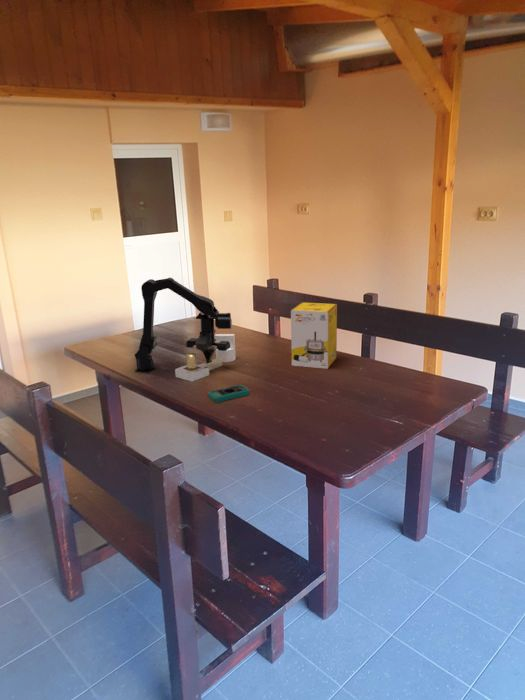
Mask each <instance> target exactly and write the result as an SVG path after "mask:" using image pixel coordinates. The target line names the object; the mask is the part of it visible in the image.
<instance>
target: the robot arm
mask: <svg viewBox="0 0 525 700" xmlns="http://www.w3.org/2000/svg"><path fill="white" fill-rule="evenodd" d="M166 289H168V290H170V291H172V292H173V293H175V294H176V295H178V296H180V297H181V298H183V299H184V300H187V302H189V303H191V305H193V306H194V307H195V309H196V310H197V311H199V313H198V314H197V315H196V317H195V320H200V331H199V337H198V338H196V337H195V338H194V337H191V338H189V339H188V340H186V342H185V346H186V348H193V347H194V346H195V349H197V350H198V351H201V352H202V353H203V355H204V359H205V360H206V362H208V361H210V360H212V357H213V355H214V352H216V349H218V350H221V351H226V350H227V349H229V348H230V343H229V341H220V342H219V343H215V341H216V339H215V333H216V329H215V327H216V328H217V330H232V327H233V325H232V323H233V320H232V314H231V312H226V313H225V312H224V313H222V312H220V311H219V310H218V309H217V308H216V306H215V303H214V300H212V299H211V298H208V297H206V296H203V295H200V294H197V293H196V292H193V291H192V290H191V289H189V288H187V287H186V286H184V285H183V284H181V283H179V282H178V281H176V280H175V279H174V278H172V277H167V278H162V279H157V280H155V279H153V278H152V279H148V280H146V281H144V282H143V283H142V284H141V296H142V299H143V303H144V304H143V325H142V326H143V327H142V335H141V339H140V343H139V346H138V350H137V351H136V352H135V353H134V357H135V360H136V362H135V363H136V369H135V372H140V373H143V372H144V373H149V372H150V371H152V370H154V369H155V368H156V367H155V366H154V364H155V363H154V359H153V356H152V355H151V354H152V353H153V351H154V350H155V348H156V347H157V345H158V343H157V340H158V336H155V335H154V322H155V321H154V318H155V317H154V316H155V315H154V314H155V300H156V298H157V296H158V295H157V294H158V292H159V291H164V290H166Z"/></svg>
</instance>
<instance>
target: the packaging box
mask: <svg viewBox="0 0 525 700" xmlns="http://www.w3.org/2000/svg"><path fill="white" fill-rule="evenodd" d="M337 322H338V304H337V303H320V302H319V303H318V302H301V303H299V304H298V305H296V306H295V307H293V308H292V309H291V310H290V329H291V331H290V334H291V335H290V336H291V337H290V338H291V339H290V341H291V366H294V367H302V366H303V367H304V368H315V369H326V370H327V369H329V368H330V366H331V365H332V364H333V362H335V361H336V359H337V348H338V347H337V345H338V344H337V341H338V340H337V339H338V337H337V335H338V334H337V333H338V332H337V330H338V329H337V328H338V323H337Z"/></svg>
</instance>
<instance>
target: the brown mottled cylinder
mask: <svg viewBox="0 0 525 700" xmlns="http://www.w3.org/2000/svg"><path fill="white" fill-rule="evenodd" d="M185 357H186V365H187V370H189V371H194V370H196V369H197V364H198V363H197V354H196V353H194V352H191V353H190V352H189V353H186V355H185Z"/></svg>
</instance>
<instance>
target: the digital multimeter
mask: <svg viewBox="0 0 525 700" xmlns="http://www.w3.org/2000/svg"><path fill="white" fill-rule="evenodd" d="M247 395H248V396H250V390H249V388H248V387H246V386H244V385H242V384H238V385H237V384H236V385H234V386H229V387H225V388H221V389H216V390H211V391H209V392H207V396H208V398H209V399H211V400H212V401H214V403H216V404H217V403H221V402H225V400H226V401H229V399H230V400H234V399H237V398H238V397H239V398H242V396H243V397H247Z"/></svg>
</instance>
